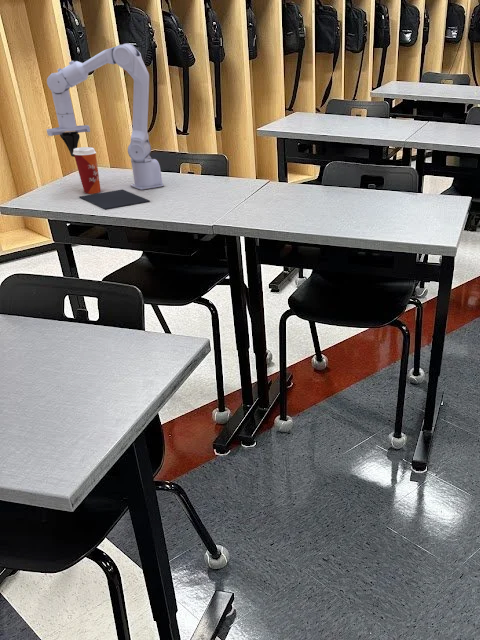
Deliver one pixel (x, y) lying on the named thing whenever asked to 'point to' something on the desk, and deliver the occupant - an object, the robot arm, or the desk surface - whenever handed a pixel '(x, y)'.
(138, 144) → the robot arm
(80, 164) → the paper cup
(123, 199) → the desk mat
